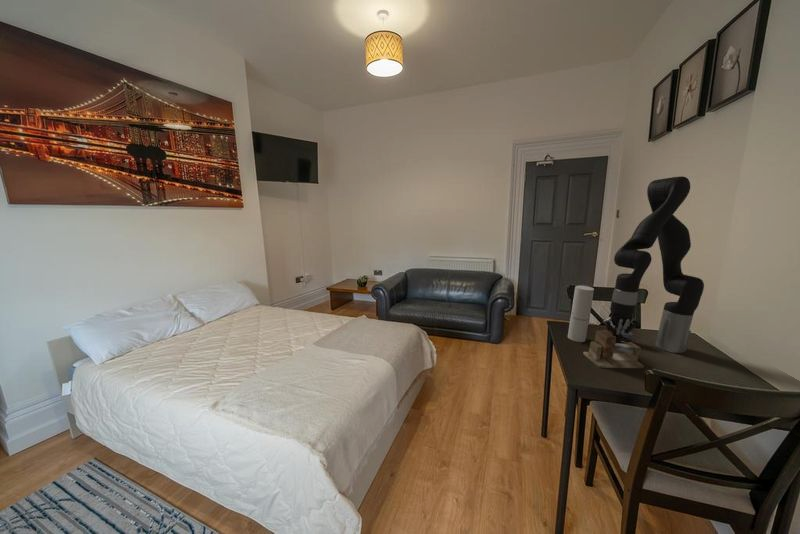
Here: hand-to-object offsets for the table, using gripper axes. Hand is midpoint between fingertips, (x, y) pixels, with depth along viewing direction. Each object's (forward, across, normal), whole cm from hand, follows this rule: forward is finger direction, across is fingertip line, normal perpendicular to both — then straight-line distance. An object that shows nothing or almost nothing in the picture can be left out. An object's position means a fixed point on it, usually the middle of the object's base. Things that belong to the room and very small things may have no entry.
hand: (615, 342), depth 112 cm
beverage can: (+8, -17, -17) cm, 25 cm away
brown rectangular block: (+6, +4, 0) cm, 7 cm away
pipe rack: (+8, 0, 0) cm, 8 cm away
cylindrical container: (+8, +3, -19) cm, 21 cm away
